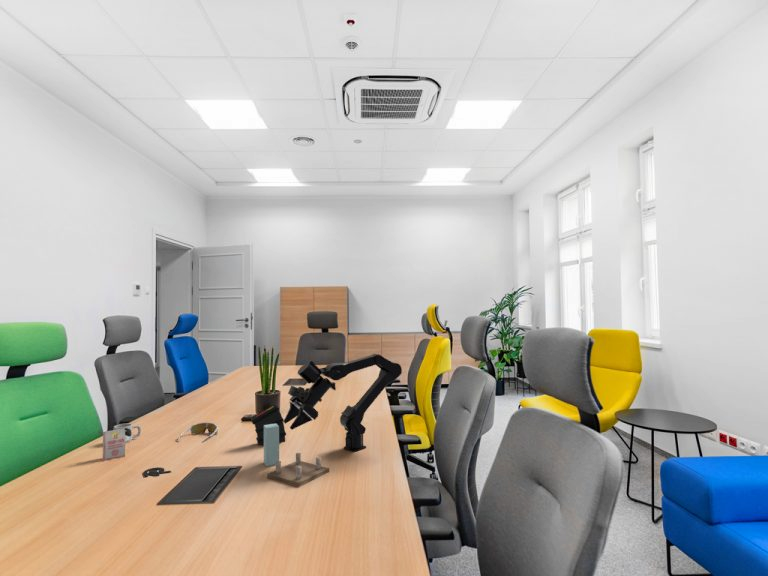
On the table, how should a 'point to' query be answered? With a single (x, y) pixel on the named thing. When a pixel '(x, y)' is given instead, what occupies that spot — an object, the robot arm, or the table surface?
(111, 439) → the small printed box
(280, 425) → the black ridged slab
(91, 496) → the table surface
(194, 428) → the sunglasses
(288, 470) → the pin stand
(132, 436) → the mug
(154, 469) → the black flat pronged piece
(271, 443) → the block
